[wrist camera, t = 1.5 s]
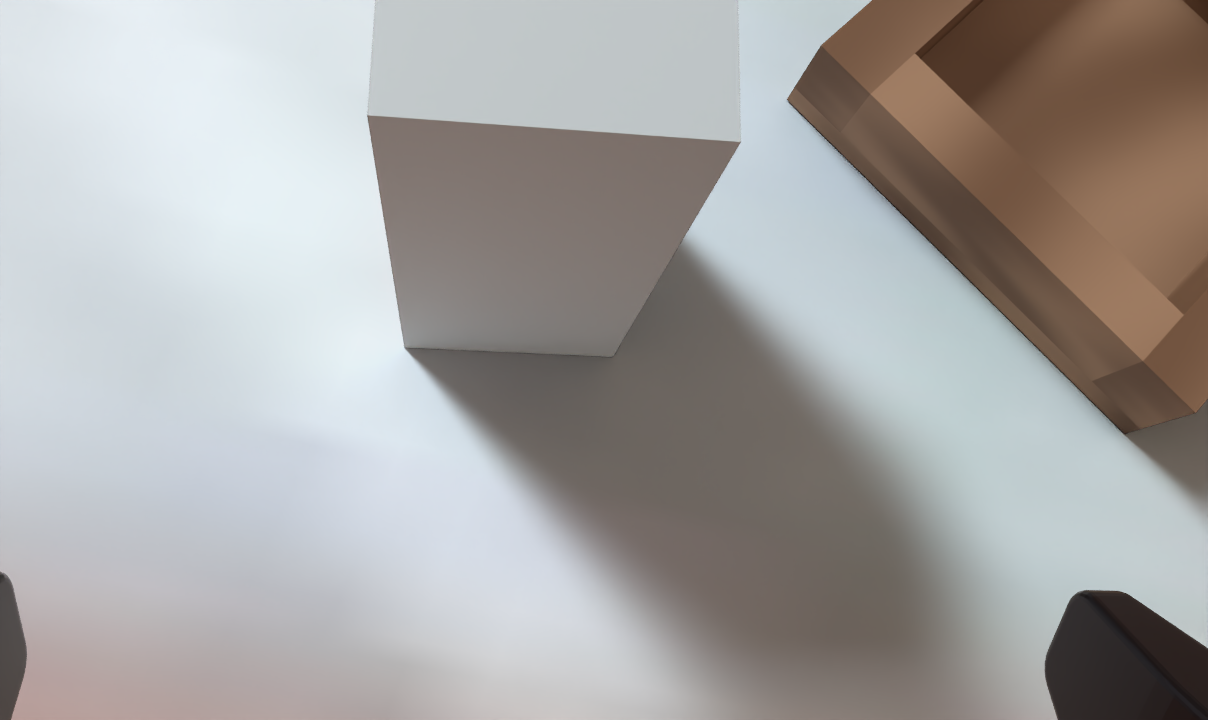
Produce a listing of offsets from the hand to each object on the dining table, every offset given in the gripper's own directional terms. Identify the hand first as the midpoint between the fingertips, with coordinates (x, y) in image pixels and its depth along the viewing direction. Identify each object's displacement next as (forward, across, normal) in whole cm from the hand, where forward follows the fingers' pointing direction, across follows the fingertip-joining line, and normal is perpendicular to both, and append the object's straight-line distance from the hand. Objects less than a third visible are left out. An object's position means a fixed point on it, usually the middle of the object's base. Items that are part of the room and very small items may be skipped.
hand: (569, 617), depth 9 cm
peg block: (+15, 0, +4) cm, 16 cm away
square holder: (+18, -14, +1) cm, 23 cm away
